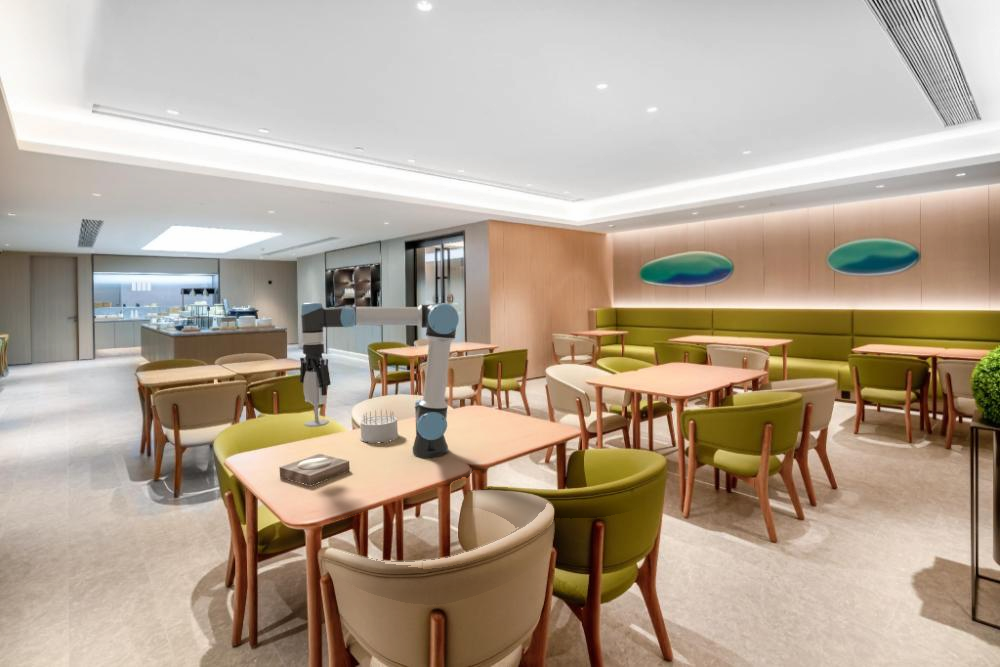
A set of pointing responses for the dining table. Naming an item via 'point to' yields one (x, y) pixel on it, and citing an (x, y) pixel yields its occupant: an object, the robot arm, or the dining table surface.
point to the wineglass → (313, 397)
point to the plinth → (314, 469)
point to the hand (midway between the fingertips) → (315, 402)
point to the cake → (379, 428)
